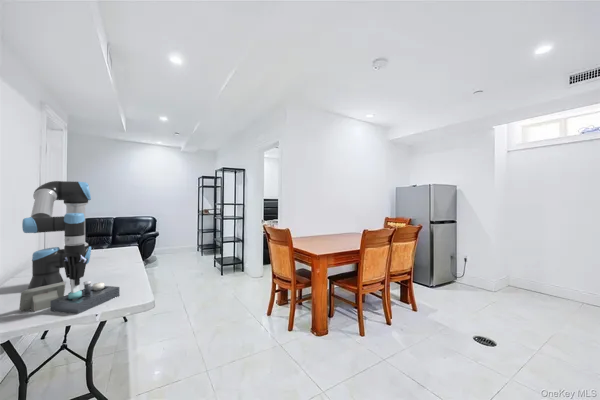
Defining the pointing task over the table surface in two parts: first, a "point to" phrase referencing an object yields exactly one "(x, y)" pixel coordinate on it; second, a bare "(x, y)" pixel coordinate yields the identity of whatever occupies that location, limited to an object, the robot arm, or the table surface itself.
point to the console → (84, 300)
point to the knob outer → (75, 295)
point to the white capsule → (87, 287)
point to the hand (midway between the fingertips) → (75, 291)
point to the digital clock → (41, 297)
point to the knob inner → (98, 286)
